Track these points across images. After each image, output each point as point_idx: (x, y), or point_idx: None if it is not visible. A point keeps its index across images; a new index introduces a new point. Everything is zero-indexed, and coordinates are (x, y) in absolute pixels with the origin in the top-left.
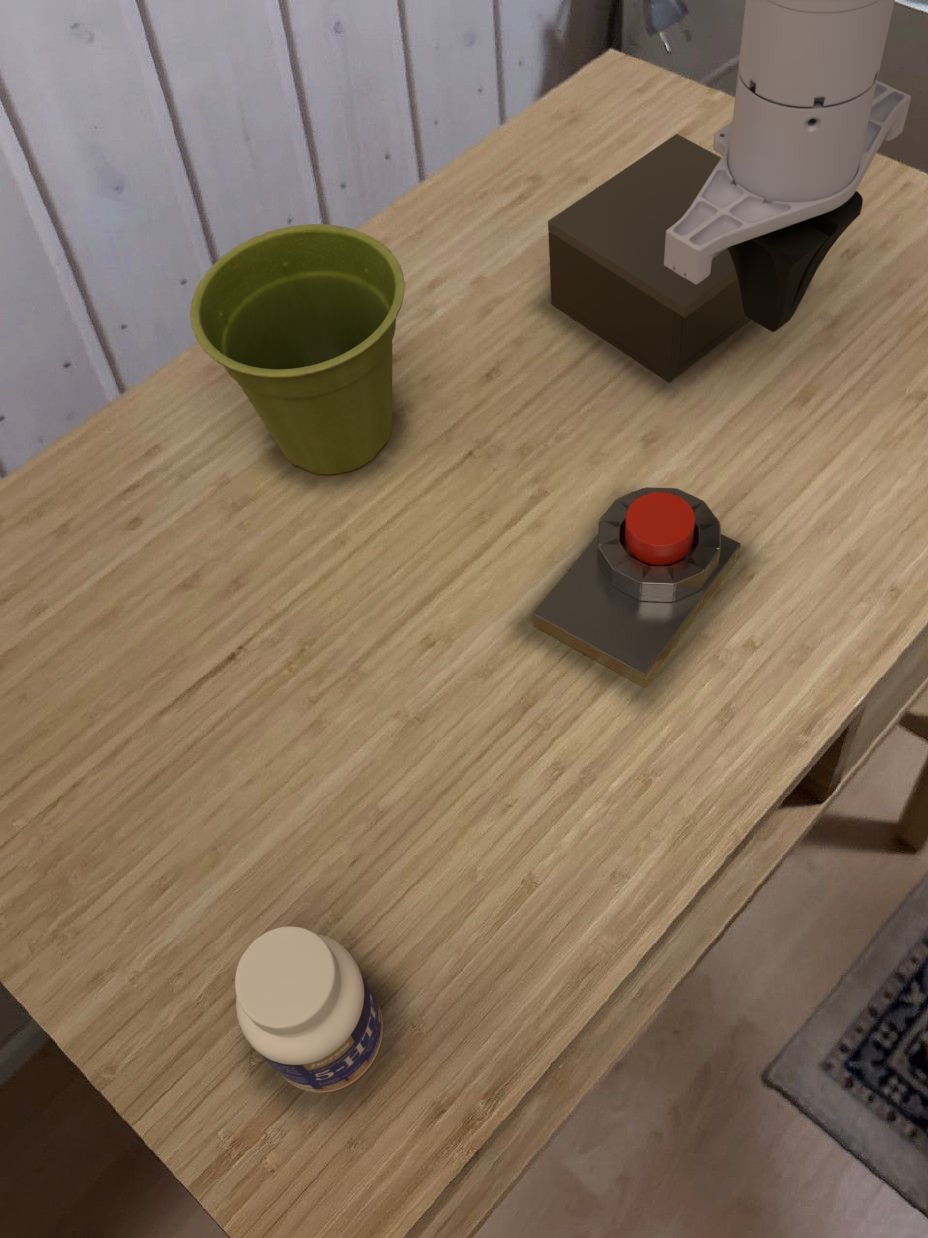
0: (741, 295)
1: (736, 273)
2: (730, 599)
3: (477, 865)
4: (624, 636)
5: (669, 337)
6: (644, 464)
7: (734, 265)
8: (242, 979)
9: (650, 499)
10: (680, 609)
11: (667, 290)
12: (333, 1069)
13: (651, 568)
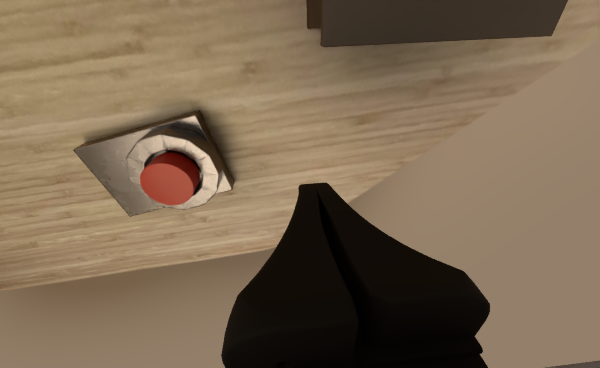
0: (298, 196)
1: (292, 215)
2: (212, 197)
3: (5, 228)
4: (129, 194)
5: (314, 22)
6: (231, 86)
7: (288, 226)
8: None
9: (170, 169)
10: None
11: (331, 1)
12: None
13: None
